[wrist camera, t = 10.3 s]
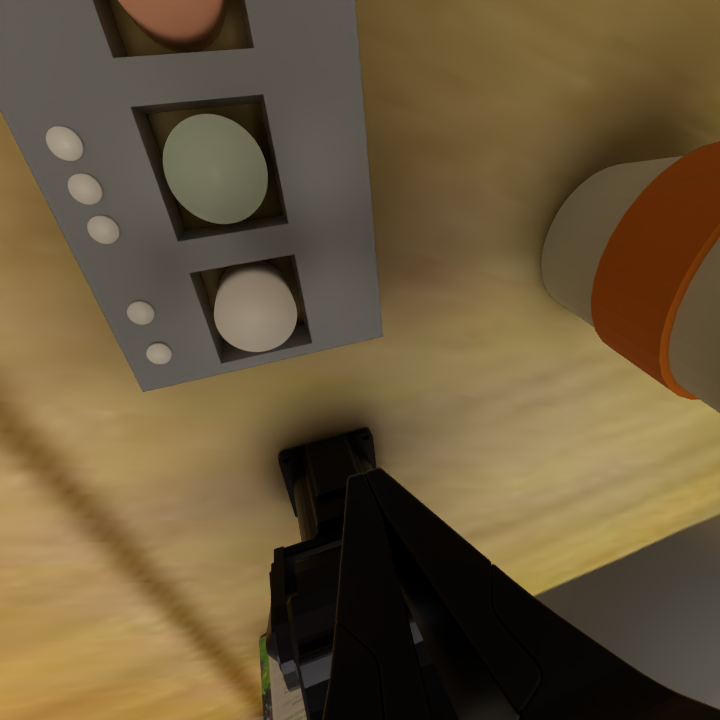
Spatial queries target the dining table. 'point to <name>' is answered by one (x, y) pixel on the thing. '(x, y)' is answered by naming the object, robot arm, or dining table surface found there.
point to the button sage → (215, 168)
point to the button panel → (153, 195)
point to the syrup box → (278, 691)
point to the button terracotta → (178, 21)
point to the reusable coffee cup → (647, 266)
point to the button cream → (254, 307)
